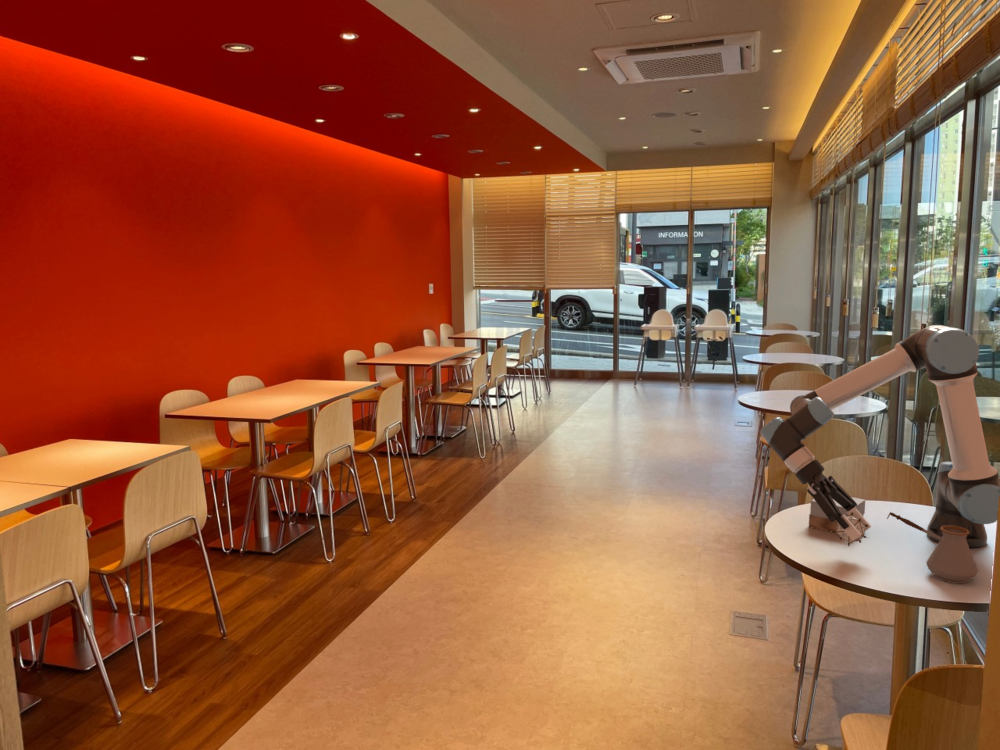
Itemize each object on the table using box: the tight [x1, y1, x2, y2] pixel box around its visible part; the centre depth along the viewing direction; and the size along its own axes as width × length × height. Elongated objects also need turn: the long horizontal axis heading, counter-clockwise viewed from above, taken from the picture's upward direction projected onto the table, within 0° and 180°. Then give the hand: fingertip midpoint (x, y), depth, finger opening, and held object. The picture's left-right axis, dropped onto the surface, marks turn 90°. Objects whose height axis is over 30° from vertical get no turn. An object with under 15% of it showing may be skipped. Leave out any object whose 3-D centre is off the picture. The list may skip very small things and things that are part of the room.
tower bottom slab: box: [808, 513, 864, 533], centre depth 231 cm, size 12×12×4 cm
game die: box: [832, 512, 868, 547], centre depth 205 cm, size 9×8×10 cm
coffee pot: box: [886, 511, 979, 584], centre depth 194 cm, size 21×12×15 cm, turn 58°
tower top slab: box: [809, 496, 866, 518], centre depth 230 cm, size 12×12×4 cm
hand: (862, 533), depth 202 cm, fingers closed on game die, 8 cm apart
